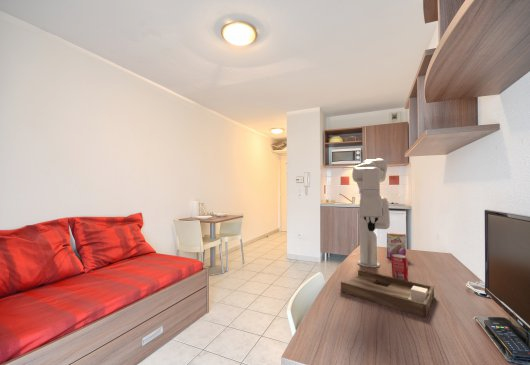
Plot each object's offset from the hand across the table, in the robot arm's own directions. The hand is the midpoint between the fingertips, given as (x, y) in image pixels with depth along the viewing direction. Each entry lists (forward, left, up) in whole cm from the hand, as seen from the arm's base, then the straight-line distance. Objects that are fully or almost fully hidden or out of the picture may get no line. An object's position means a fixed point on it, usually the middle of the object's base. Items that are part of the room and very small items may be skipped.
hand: (371, 230), depth 116 cm
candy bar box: (-60, -3, -26) cm, 65 cm away
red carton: (-14, +9, -26) cm, 31 cm away
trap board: (+6, +8, -26) cm, 28 cm away
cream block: (+7, +21, -24) cm, 32 cm away
